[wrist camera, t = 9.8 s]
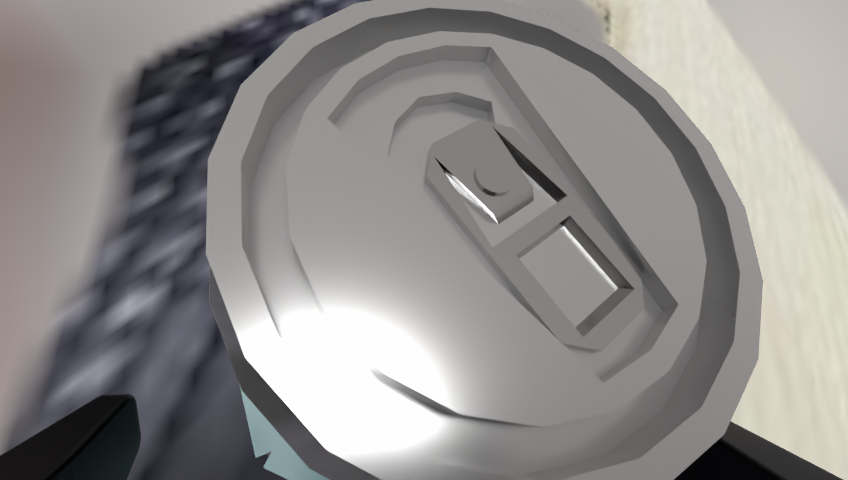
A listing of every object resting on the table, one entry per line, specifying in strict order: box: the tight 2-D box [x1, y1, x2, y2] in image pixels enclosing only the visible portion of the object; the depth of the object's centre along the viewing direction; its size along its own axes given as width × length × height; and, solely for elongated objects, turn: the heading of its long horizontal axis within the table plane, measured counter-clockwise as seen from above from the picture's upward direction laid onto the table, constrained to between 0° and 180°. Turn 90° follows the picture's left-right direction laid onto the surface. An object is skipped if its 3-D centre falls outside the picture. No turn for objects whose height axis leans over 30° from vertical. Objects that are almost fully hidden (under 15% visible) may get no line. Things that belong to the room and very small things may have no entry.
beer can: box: [206, 0, 763, 480], centre depth 9 cm, size 5×5×12 cm
